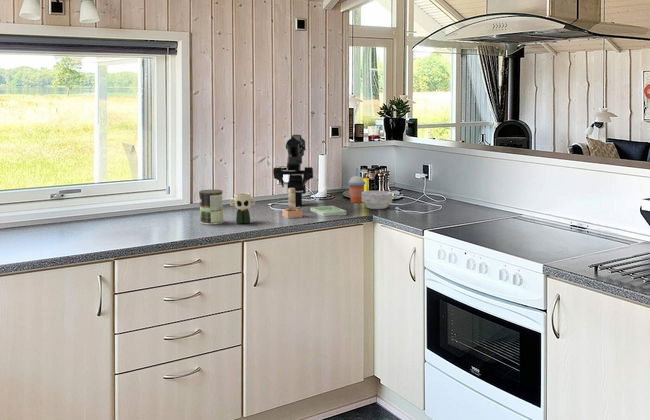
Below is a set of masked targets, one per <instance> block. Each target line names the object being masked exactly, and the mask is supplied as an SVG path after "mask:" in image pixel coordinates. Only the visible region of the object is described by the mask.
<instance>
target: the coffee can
mask: <svg viewBox="0 0 650 420" xmlns="http://www.w3.org/2000/svg"><path fill="white" fill-rule="evenodd" d="M223 192H224V191H223V190H222V189H203V190H199V191H198V195H199V217H200V224H201V225H205V226H206V225H207V226H209V225H210V226H214V225H220V224H223V223H224V222H225V221H224V205H223V204H224V203H223V201H224V200H223V198H224V197H223V194H224V193H223Z"/></svg>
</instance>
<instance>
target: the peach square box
mask: <svg viewBox="0 0 650 420" xmlns="http://www.w3.org/2000/svg"><path fill="white" fill-rule="evenodd" d="M281 211H282V214H281V215H282V217H284V218H286V219H296V218H303V210H302V209H299V208H296V211H290V212H289V208H285V209H282V210H281Z"/></svg>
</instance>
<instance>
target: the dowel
mask: <svg viewBox="0 0 650 420" xmlns="http://www.w3.org/2000/svg"><path fill="white" fill-rule="evenodd" d="M287 194H288V195H287V196H288V209H289V212H290V211H296V207H297V206H296V198H295V188H288V187H287Z"/></svg>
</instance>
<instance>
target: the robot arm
mask: <svg viewBox="0 0 650 420" xmlns="http://www.w3.org/2000/svg"><path fill="white" fill-rule="evenodd" d="M285 149H286V150H287V159H286V160H287V162H286V169H283V167H280V166H279V167H277V166H276V167H274V168H273V171H272V172H273V173H272V174H273V178H274V179H275V180H277V181H279V182H280V185H281V187H282V189H283V188H284V187H285V186H284V185H285V184H284V178H283V175H284V176H285V175H288V176H289V178H288V181H287V182H286V183H287V186H286V187H287V189H288V188H295V198H296V207H303V206H305V204H304V203H303V195H305V194H306V191H307V189H306V183H307V182H308V181H309V180H311V179H313V178H314V168H313V167H312V166H310V167H309V166H307V167H304V170H302V169H301V168H302V167H301V166H302V165H301V164H303V157H304V156H305V151H306V140H305V139H304V138H303V137H302V135H301V134H291V137H290V139H288V140H287V141H286V143H285Z"/></svg>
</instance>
